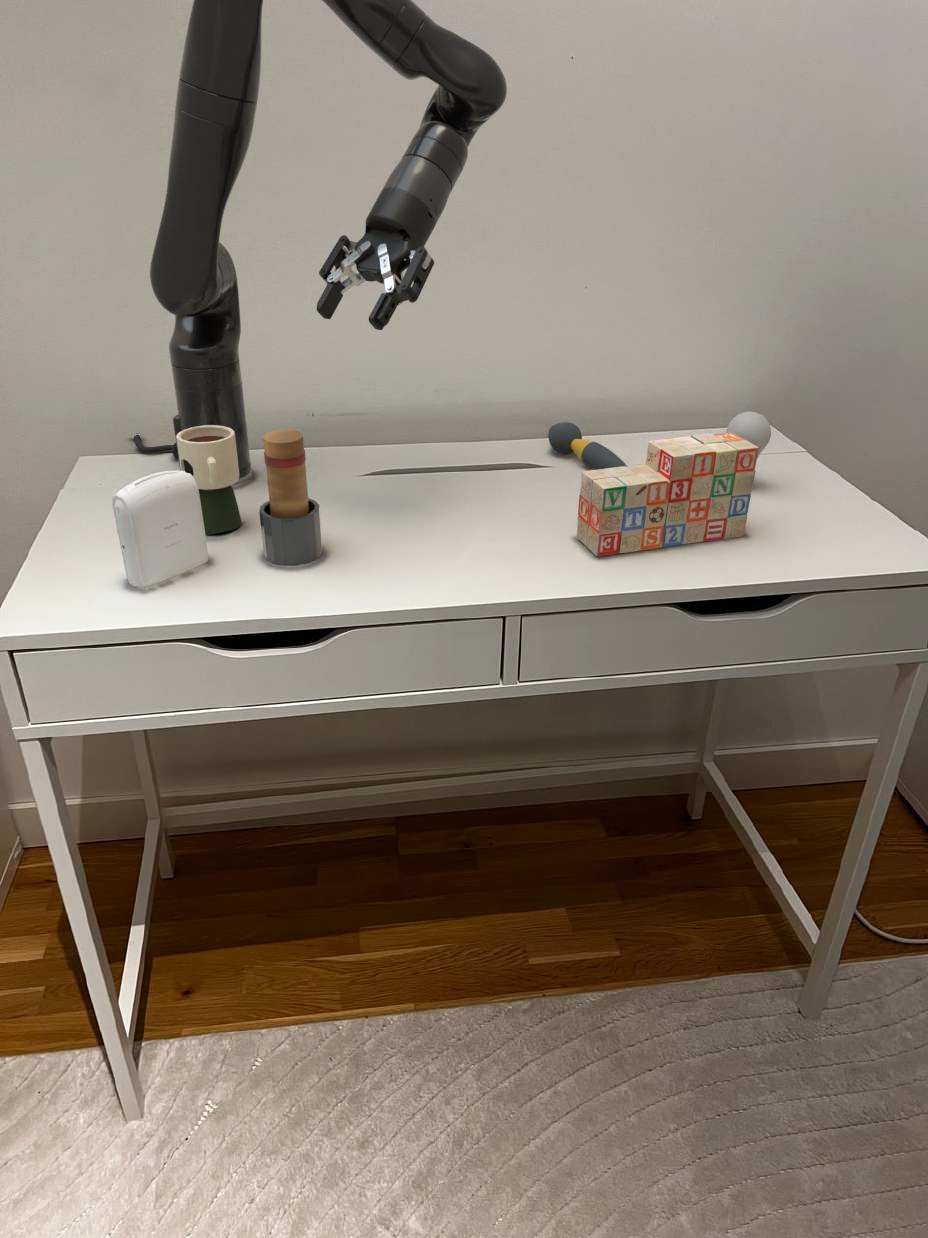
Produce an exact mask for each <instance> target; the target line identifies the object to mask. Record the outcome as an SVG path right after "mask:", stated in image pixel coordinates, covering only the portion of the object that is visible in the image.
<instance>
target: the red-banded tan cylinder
mask: <svg viewBox="0 0 928 1238" xmlns="http://www.w3.org/2000/svg"><path fill="white" fill-rule="evenodd" d="M262 441H263V450H264V451H263V458H264V463H265V471H266V481H267V491H268V501H269V502H270V512H271V516H273V517H278V518H295V517H300V516H304V515H306V514H309V504H308V498H309V491H308V481H307V479H308V477H307V468H306V460H307V457H306V456H307V455H306V449H305V441H304V434H303V433H302V432H300V431H298V430H293V429H277V430H272V431H268V432H267V433H265V434H263V437H262Z"/></svg>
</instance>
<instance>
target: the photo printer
mask: <svg viewBox="0 0 928 1238" xmlns="http://www.w3.org/2000/svg"><path fill="white" fill-rule="evenodd" d="M111 502H112V505H111V507H112V510H113V517H114V520H115V521H114V522H115V526H116V530H117V535H118V541H119V545H120V551H121V556H122V559H123V560H122V561H123V565H124V566H123V567H124V571H125V576H126V578H127V580H128V583H129V584H130V585H131V586H135V587H141V588H147V587H150V586H154V585H157V584H159V583H162V582H164V581H167V580H169V579H172V578H174V577H176V576H179V575H181V574H184V573H187V572H189V571H191V570H193V569H195V568H198V567H200V566H202V565H204V564H206V563H208V562H209V550H208V543H207V535H206V534H205V528H204V522H203V515H202V508H201V502H200V496H199V490H198V486H197V483H196V481H195V479H194V478H193V476H192V475H191V474H190V473H186V472H185V471H180V470H164V471H159V472H155V473H151V474H147V475H145V476H143V477H141V478H138V479H136V480H134V481H132V482H130V483H128V484H127V485H126V486H124V487H123V488H121V489H120V490H119V491H117V492H116V493H115V494H114V495H113V497H112V501H111Z"/></svg>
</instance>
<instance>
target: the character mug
mask: <svg viewBox="0 0 928 1238" xmlns="http://www.w3.org/2000/svg"><path fill="white" fill-rule="evenodd" d="M176 438H177V446H178V452H179V458H178V461H179V460H180V465H179V469H180V468H181V471H185V472H186V473H190V474H191V475H192V476H193V478H194V479H195V481H196V483H197V486H198V490H199V496H200V502H201V508H202V515H203V522H204V528H205V535H206V536H210V535H215V534H221V533H226V532H229V531H230V532H231V531H233V530H235V529H238V528H240V526H241V525H242V524H243V522H242V518H241V514H240V509H239V505H238V502H237V498H236V494H235V490H234V488H233V487H232V486H234V485H233V484H235V483H236V482H237V481H238V480H239V466H238V457H237V449H236V440H235V432H234V431H233V430H232V429H231V428H228V427H225V426H217V425H204V426H197V427H191V428H188V429H185V430H183V431H181V432H179V433H178V434H177V436H176ZM176 438H175V439H176ZM231 485H232V486H231Z"/></svg>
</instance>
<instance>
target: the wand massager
mask: <svg viewBox="0 0 928 1238" xmlns="http://www.w3.org/2000/svg"><path fill="white" fill-rule="evenodd" d="M547 438H548V442H549V445H550V447H551V448H552V450H553V451H554V452H556V453H557V454H560V455H570V454H573V453H574V454H575V455H576V456H577V458H578V459H579V460H580V461H581V462H582V463H583V464H584V465H586V466H587V467H589V468H590V469H591V470H598V469H605V468H614V467H622V466H628V465H627V464H626V463H625V461H624V460H623V459H621V457H619V456H618V455H617V454H616V453H614V451H612V450H611V449H609V448H607V447H606V446H604V445H602V444H601V443H599V442H596V441H593V440H589V439H583V435H582V431H581V429H580V428H579V427H578V426H577V425H576V424H575V423H572V422H569V421H564V422H559V423H555V424H552V425H551V426H550V428H549V429H548V434H547Z"/></svg>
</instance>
